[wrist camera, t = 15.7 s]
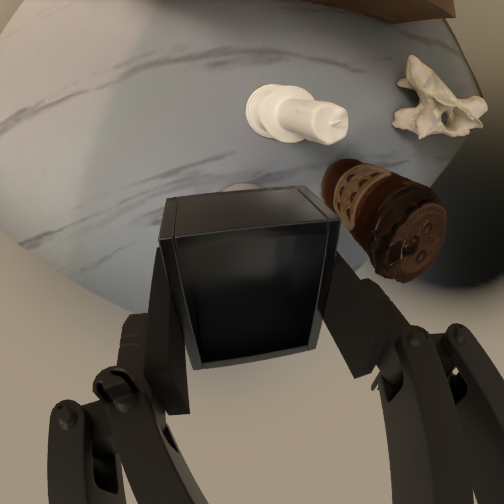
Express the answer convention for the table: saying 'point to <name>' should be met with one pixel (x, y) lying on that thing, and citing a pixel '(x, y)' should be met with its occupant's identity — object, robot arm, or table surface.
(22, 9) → the table surface
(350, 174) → the coffee cup
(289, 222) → the tray
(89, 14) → the table surface
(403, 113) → the bone
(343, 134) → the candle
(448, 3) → the cabinet
